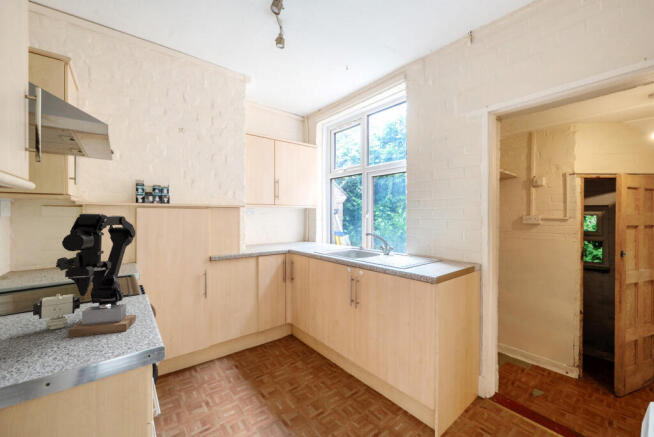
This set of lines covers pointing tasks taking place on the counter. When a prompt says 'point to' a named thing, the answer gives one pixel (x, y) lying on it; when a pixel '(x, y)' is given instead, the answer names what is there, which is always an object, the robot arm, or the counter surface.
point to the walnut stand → (101, 327)
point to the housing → (103, 314)
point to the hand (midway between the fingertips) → (89, 292)
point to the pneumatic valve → (56, 309)
